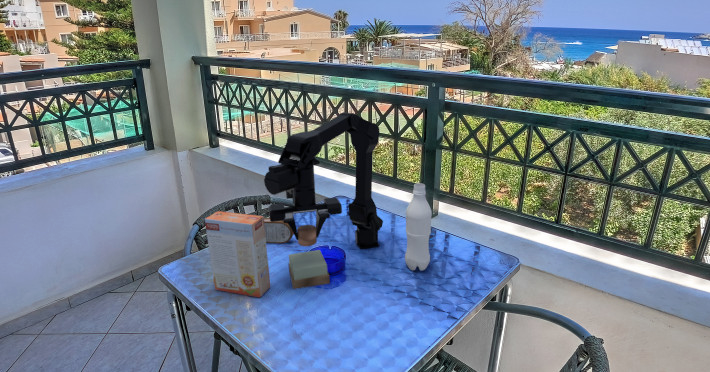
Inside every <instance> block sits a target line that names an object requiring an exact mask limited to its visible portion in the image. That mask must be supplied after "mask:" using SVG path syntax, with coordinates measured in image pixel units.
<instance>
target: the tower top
mask: <svg viewBox="0 0 710 372" xmlns="http://www.w3.org/2000/svg"><path fill="white" fill-rule="evenodd" d="M289 264H290V267H291V271H292V274H293V277H294V280H299V279H304V278H310V277H316V276H322V275H327V270H328V264H327V262H326V260H325V258H324V256H323V254H322V251H321V250H320V249H317V250H311V251H310V250H309V251H304V252H297V253H292V254H291V253H290V254H288V265H289Z"/></svg>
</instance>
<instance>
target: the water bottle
mask: <svg viewBox="0 0 710 372" xmlns="http://www.w3.org/2000/svg"><path fill="white" fill-rule="evenodd" d="M412 194H413V196H412V199H411V200H410V201H409V204H408V206H407V208H406V210H405V234H406V251H405V254H404V261H405V264H406V266H407V267H408V269H409V270H410V271H415V270H416V269H417V267H418V269H419V271H421V272H423V271H425V270H427V267H428V266H429V263H430V262H431V255H430V247H429V242H430V241H429V240H430V236H431V234H432V231H431V230H432V215H433V214H432V213H433V211H432V209H431V207H430V204H429V202H428V201H427V198H426V195H427V191H426V185H425V184H424V183H421V182H420V183H415V184H414V185H413V190H412Z"/></svg>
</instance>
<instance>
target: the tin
mask: <svg viewBox="0 0 710 372" xmlns="http://www.w3.org/2000/svg"><path fill="white" fill-rule="evenodd" d="M263 219H264V228H265V238H266V244H277V245H279V244H286V243H288V242H290V241H291V240H292V239H293V236H295V235H294V233H293V231H292V229H291V228H290V226H289V225H288V223H283V221H275V222H272V221H270V217H263Z"/></svg>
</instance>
